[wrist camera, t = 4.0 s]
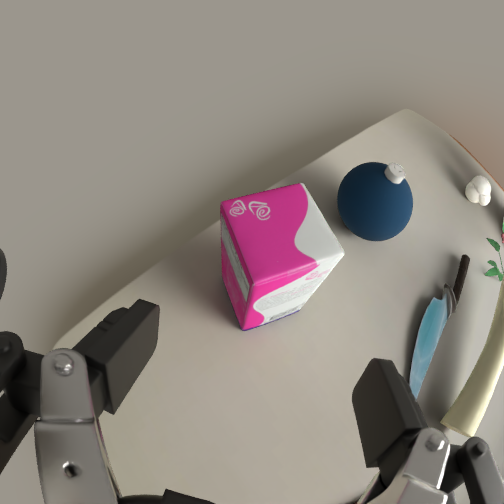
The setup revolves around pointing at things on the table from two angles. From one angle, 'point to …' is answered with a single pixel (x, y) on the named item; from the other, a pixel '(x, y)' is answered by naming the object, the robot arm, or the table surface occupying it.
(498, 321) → the flower vase
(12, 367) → the robot arm
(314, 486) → the table surface
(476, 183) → the microfossil shell
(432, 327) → the knife
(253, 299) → the supplement box
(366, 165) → the christmas ornament
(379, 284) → the table surface
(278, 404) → the table surface
